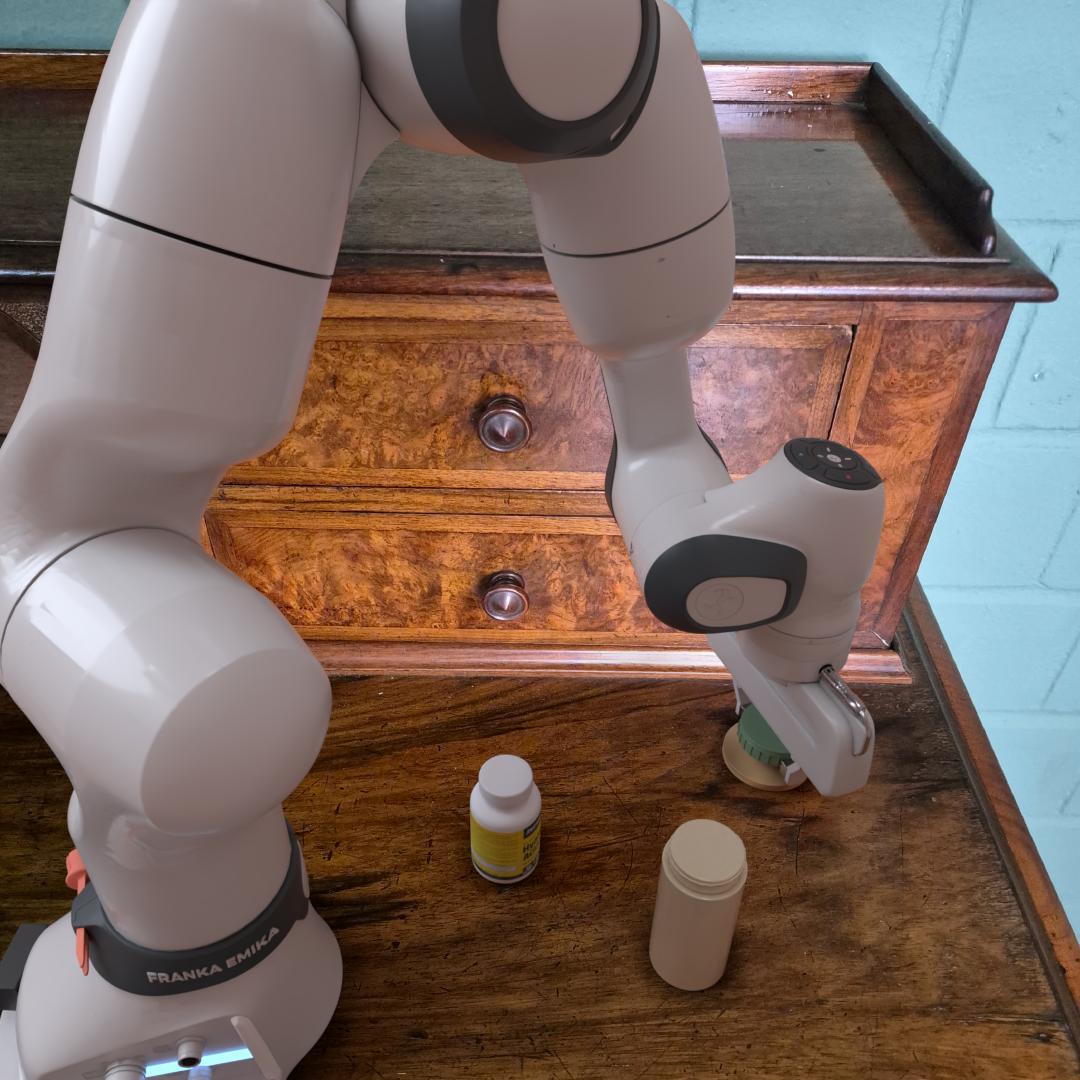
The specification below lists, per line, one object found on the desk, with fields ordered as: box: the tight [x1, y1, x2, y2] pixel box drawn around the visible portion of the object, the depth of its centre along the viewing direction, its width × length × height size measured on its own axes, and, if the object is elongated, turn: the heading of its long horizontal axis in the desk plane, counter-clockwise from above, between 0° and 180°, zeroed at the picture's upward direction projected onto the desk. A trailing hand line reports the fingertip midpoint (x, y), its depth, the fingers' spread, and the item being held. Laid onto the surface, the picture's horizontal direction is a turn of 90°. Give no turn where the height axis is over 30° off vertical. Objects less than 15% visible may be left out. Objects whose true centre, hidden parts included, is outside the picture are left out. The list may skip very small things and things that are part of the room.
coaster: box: [721, 722, 809, 792], centre depth 84 cm, size 8×8×1 cm
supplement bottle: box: [469, 754, 542, 884], centre depth 72 cm, size 5×5×10 cm
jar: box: [648, 818, 749, 992], centre depth 65 cm, size 6×6×12 cm
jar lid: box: [737, 704, 791, 766], centre depth 83 cm, size 6×6×2 cm
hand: (768, 746), depth 83 cm, fingers closed on jar lid, 6 cm apart
